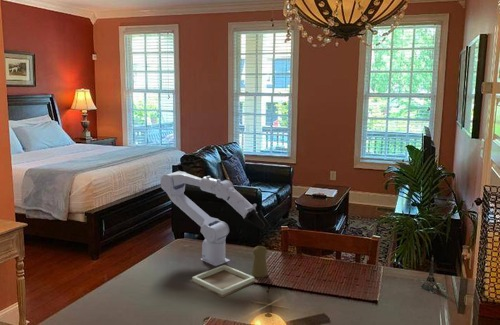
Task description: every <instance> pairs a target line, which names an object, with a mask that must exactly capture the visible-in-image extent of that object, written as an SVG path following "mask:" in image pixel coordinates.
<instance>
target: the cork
mask: <svg viewBox="0 0 500 325" xmlns="http://www.w3.org/2000/svg"><path fill="white" fill-rule="evenodd" d="M252 253H253V264H252V269H251V270H252V271H251V276H253V277H256V278H265V277H267V276H268V266H267V258H266V256H267V254H268V250H267V248H266V247H265V246H263V245H257V246H255V247H254V248H253V250H252Z"/></svg>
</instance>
